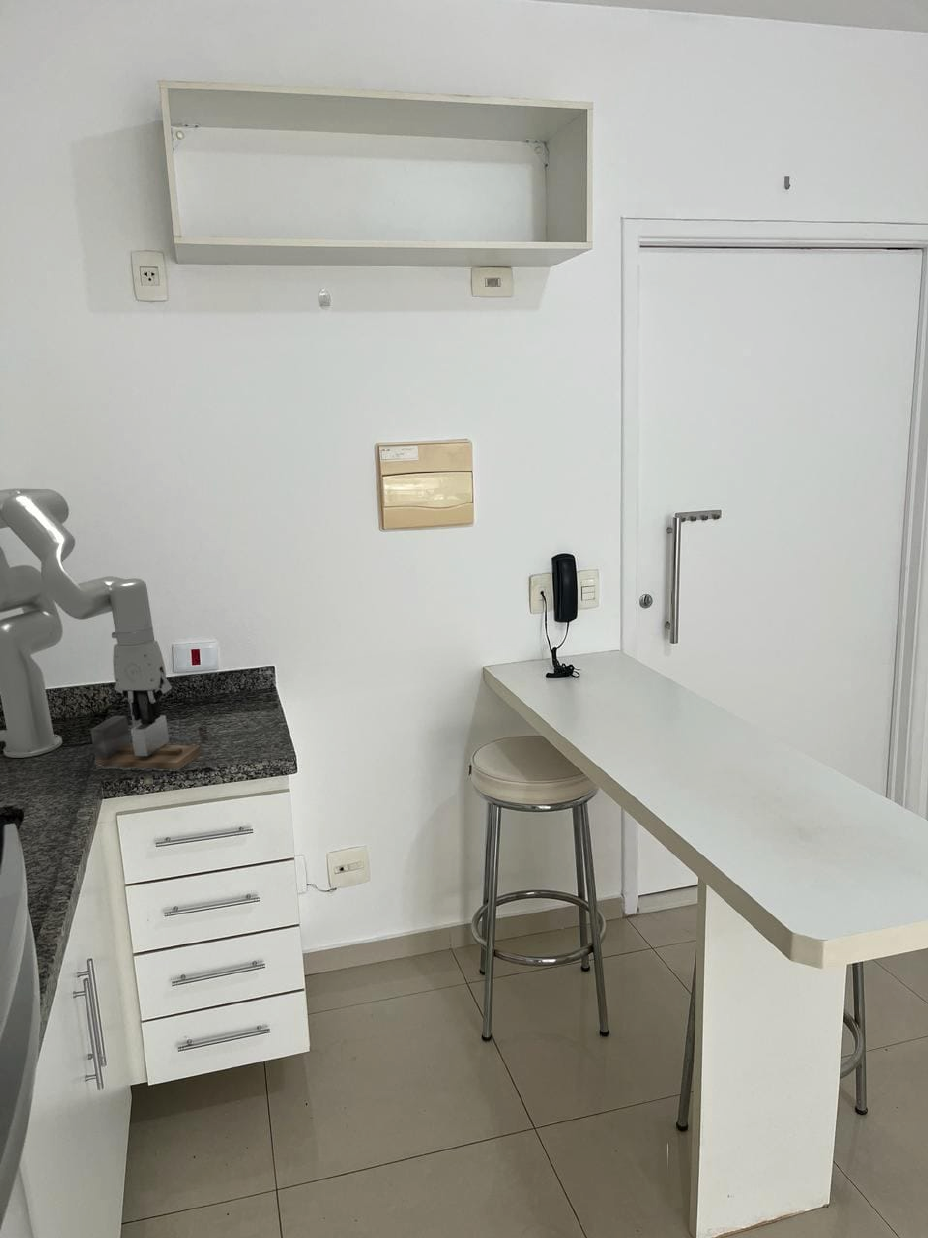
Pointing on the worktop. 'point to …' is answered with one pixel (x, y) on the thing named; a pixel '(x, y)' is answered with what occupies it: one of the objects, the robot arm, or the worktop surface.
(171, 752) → the base
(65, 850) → the worktop surface
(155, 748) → the sliding jaw
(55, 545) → the robot arm
